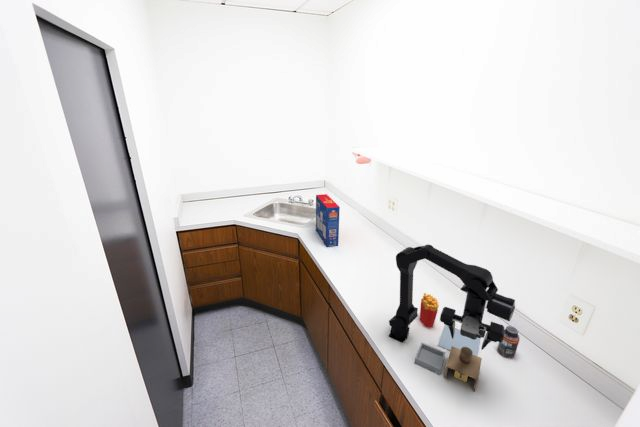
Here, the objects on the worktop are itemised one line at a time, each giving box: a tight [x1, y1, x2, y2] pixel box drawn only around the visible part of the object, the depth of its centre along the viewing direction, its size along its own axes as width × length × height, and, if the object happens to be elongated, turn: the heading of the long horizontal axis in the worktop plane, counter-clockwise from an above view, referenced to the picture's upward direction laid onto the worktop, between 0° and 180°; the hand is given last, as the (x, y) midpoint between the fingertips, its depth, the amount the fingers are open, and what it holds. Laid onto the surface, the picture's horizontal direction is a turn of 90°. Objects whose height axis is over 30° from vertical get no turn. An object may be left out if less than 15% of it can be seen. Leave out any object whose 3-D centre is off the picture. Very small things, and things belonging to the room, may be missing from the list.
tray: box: [413, 342, 447, 375], centre depth 110 cm, size 9×9×2 cm
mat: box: [437, 324, 481, 357], centre depth 119 cm, size 14×14×1 cm
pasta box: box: [315, 193, 340, 248], centre depth 203 cm, size 28×8×28 cm, turn 16°
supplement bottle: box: [497, 325, 520, 359], centre depth 112 cm, size 6×6×11 cm
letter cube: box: [453, 370, 469, 383], centre depth 104 cm, size 4×4×4 cm
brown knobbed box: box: [443, 346, 483, 392], centre depth 103 cm, size 10×10×10 cm
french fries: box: [419, 292, 439, 329], centre depth 127 cm, size 9×4×13 cm, turn 15°
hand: (467, 343), depth 101 cm, fingers open, 9 cm apart
